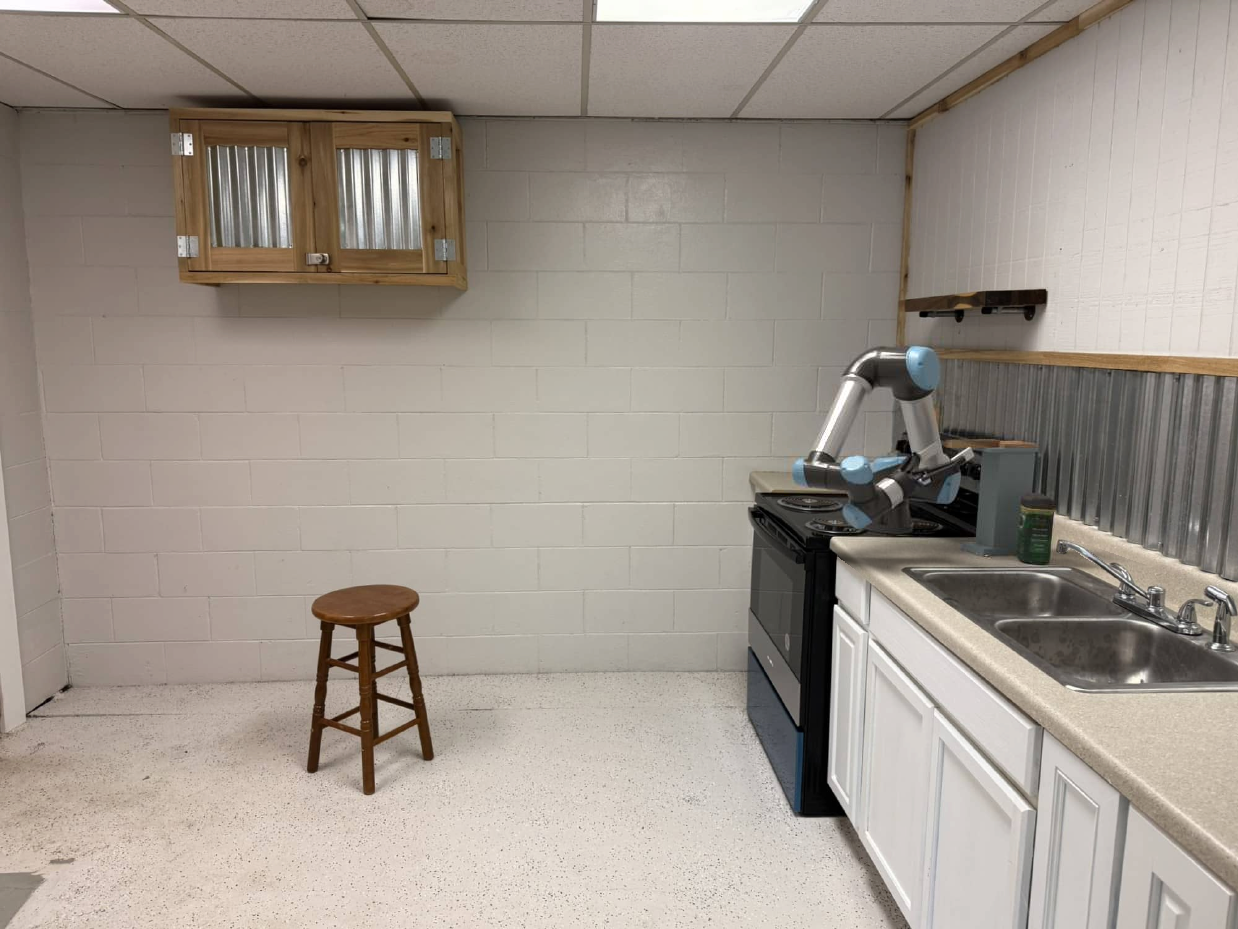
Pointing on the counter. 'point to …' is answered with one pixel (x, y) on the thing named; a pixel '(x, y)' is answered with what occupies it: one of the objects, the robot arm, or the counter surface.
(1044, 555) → the coffee jar
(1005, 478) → the stand
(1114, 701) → the counter surface
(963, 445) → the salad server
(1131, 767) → the counter surface
